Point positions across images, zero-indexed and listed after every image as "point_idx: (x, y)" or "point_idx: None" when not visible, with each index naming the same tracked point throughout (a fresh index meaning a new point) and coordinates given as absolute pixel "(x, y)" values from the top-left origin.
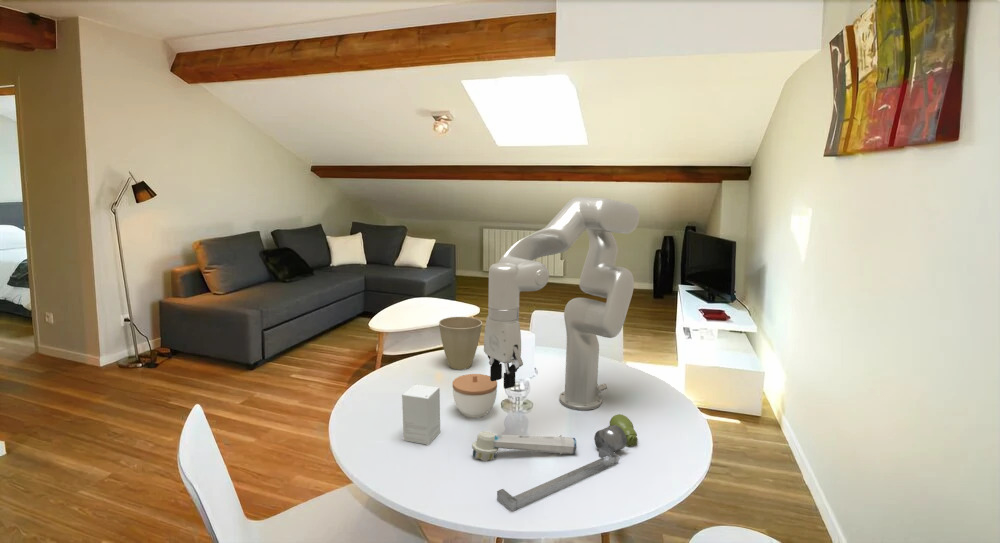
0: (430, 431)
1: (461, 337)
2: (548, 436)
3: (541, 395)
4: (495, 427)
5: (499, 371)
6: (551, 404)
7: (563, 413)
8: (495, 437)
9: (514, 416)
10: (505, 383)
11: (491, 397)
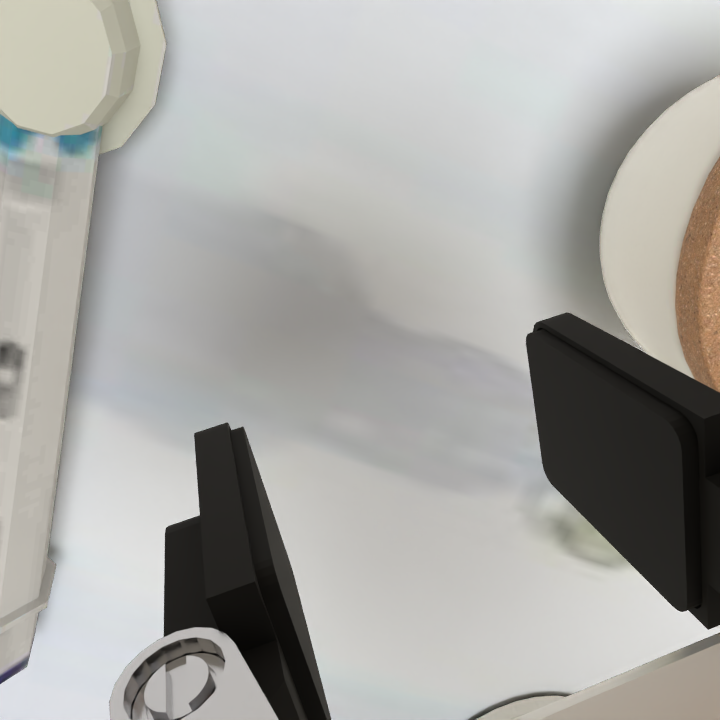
0: None
1: None
2: (4, 549)
3: (659, 628)
4: (441, 273)
5: (610, 509)
6: (550, 649)
7: (435, 678)
8: (10, 127)
9: (518, 430)
10: (199, 481)
11: (652, 333)
